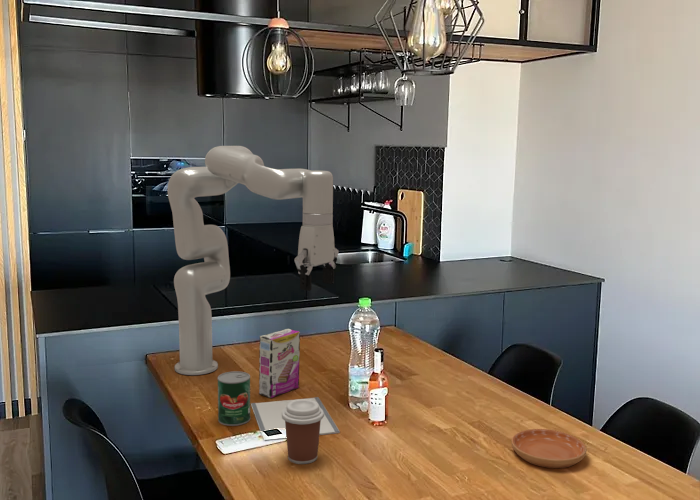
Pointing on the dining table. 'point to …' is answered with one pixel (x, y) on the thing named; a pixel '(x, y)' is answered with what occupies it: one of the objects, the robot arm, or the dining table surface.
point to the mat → (271, 418)
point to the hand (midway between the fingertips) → (317, 286)
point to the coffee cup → (302, 430)
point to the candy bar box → (279, 362)
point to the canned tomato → (234, 398)
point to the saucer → (548, 448)
